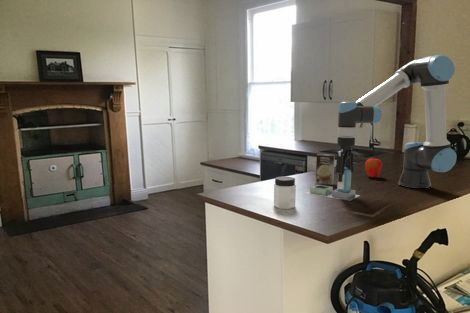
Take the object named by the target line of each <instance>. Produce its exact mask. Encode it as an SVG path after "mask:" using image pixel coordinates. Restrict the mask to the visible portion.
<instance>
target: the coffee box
mask: <svg viewBox="0 0 470 313" xmlns="http://www.w3.org/2000/svg"><path fill="white" fill-rule="evenodd" d="M335 158H336V155H335V154H332V153H331V154H330V153H329V154H328V153H317V154H316V161H315V162H316V165H315V184H314V186H316V185H330V186H331V185H334V182H335V181H334V179H335V162H336V161H335Z"/></svg>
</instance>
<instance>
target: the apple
mask: <svg viewBox="0 0 470 313" xmlns="http://www.w3.org/2000/svg"><path fill="white" fill-rule="evenodd" d="M382 167H383V163H382V161H381V159H379V158H375V157H371V158H368V159H366V161H365V163H364V170H365V172H366V175H367V176H368V177H369V178H378V176H379V175H380V173H381V172H382Z"/></svg>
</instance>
